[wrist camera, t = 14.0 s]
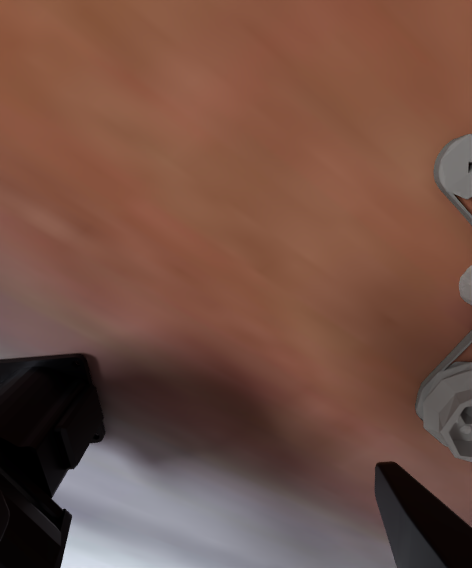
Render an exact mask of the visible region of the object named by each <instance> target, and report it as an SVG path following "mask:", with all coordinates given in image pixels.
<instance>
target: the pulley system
mask: <svg viewBox="0 0 472 568" xmlns="http://www.w3.org/2000/svg"><path fill="white" fill-rule="evenodd" d="M469 163H471V165H470V166H469ZM468 166H469V167H468ZM434 179H435V182H436V184H437V186H438V187H439V189H440V190H441V191H442V192H443V193H444V195H445V196H446V197H447V198H448V199H449V200H450V201H451V202H452V204H453V205H454V206H455V207H456V208H457V209H458V210H459V211H460V212H461V214H462V215H463V216H464V217H465V218H466V219H467V221H468V222H469V223H470V224H471V225H472V215H471V214H470V213H469V212H468V211H467V210H466V208H465V207H464V206H463V205H462V204H461V203H460V201H459V200H458V199H457V198H456V197H455V196H454V194H455V195H458V196H460V197H462V198H465V199H468V198H470V197H472V134H468V135H464V136H461V137H459V138H456V139H453V140H452V141H450V142H449V143H448V144H446V145H445V146H444V148H443V149H442V150H441V151H440V153H439V155H438V156H437V159H436V161H435V165H434ZM459 291H460V296H461V297H462V299H463V300H464V301H465V302H467V303H468V304H471V305H472V265H471V266H470V267H469V268H468V269H467V270H466V272H465V273H464V274H463V275H462V276H461V278H460V282H459ZM471 343H472V330H471V331H470V332H469V333H468V334H467V335H466V337H465V338H464V339H463V340H462V341H461V342H460V343H459V344H458V345H457V346H456V347H455V348H454V349H453V350H452V351H451V352H450V353H449V354H448V356H447V357H446V358H445V359H444V360H443V361H442V362H441V363H440V364H439V365H438V366H437V367H436V368H435V369H434V370H433V371H432V372H431V373H430V375H429V376H428V377H427V378H426V379H425V380H424V381H423V382H422V383H421V386H420V388H419V391H418V395H417V399H416V404H415V410H416V413H417V415H418V416H419V417H420V419H422V420H423V421H424V428H425V429H426V430H427V431H428V432H429V433H430V434H432V435H433V436H434V437H435V438H436V439H437V440H438V441H440V442H441V443H442V444H443V445H444V446H447V447H449V449H450V451H451V452H452V454H453V455H454V457H455V458H459V459H463V460H466V461H470V462H472V362H454V363H453V364H451V363H452V362H453V361H454V360H455V359H456V358H457V357H458V356H459V355H460V354H461V353H462V352H463V351H464V350H465V349H466V348H467V347H468V346H469V345H470V344H471ZM450 364H451V365H450ZM449 365H450V366H449Z"/></svg>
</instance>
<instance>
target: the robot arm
mask: <svg viewBox="0 0 472 568" xmlns="http://www.w3.org/2000/svg"><path fill="white" fill-rule="evenodd" d="M75 361H78V362H79V363H80V365H79V364H77V363H76V362H75ZM103 418H104V417H103V413H102V409H101V405H100V402H99V398H98V394H97V390H96V387H95V386H94V385H93V383H92V379H91V375H90V371H89V367H88V364H87V360H86V358H85V357H84V356H83V355H81V354H71V355H59V356H47V357H35V358H23V359H11V360H0V568H60V567H61V563H62V559H63V554H64V550H65V545H66V541H67V537H68V532H69V528H70V524H71V519H72V515H71V514H70V513H69V512H68V511H67V510H66V509H62V508H61V507H60V506H59V505H58V504H57V503H56V502H54V501H53V500H52V499H51V498H52V497H53V495H54V494H55V492H56V490H57V488H58V487H59V485H60V483H61V482H62V480H63V478H64V476H65V475H66V473H67V471H68V470H69V469H74V468H75V467H76V466H77V465H78V463H79V462H80V460H81V458H82V456H83V454H84V453H85V451H86V449H87V447H88V446H89V444H90V443H98V442H101V441H102V440H103V438H104V436H105V429H104V425H103ZM95 433H96V434H98V435H96V434H95ZM375 496H376V501H377V504H378V507H379V510H380V514H381V517H382V520H383V523H384V526H385V530H386V533H387V536H388V539H389V543H390V546H391V549H392V552H393V555H394V559H395V562H396V565H397V568H472V528H471V527H470V526H469V525H468V524H467V523H466V522H464V521H463V520H462V519H461V518H460V517H459V516H457V515H456V514H455V513H454V512H453V511H452V510H450V509H449V508H448V507H447V506H446V505H445V504H443V503H442V502H441V501H440V500H439V499H438V498H437V497H435V496H434V495H433V494H432V493H431V492H430V491H428V490H427V489H426V488H425V487H424V486H423V485H421V484H420V483H419V482H418V481H417V480H416V479H414V478H413V477H412V476H411V475H410V474H409V473H407V472H406V471H405V470H404V469H403V468H402V467H400V466H399V465H398V464H397V463H395V462H379V463H377V464H376V467H375Z"/></svg>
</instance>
